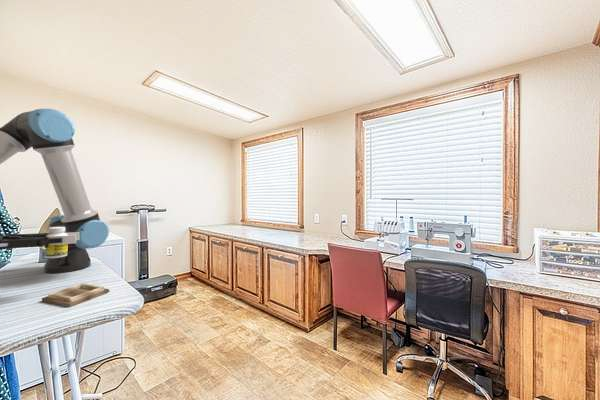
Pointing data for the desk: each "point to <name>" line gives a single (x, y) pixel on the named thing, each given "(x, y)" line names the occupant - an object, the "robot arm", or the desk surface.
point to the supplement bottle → (58, 249)
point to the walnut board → (75, 295)
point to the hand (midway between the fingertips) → (77, 237)
